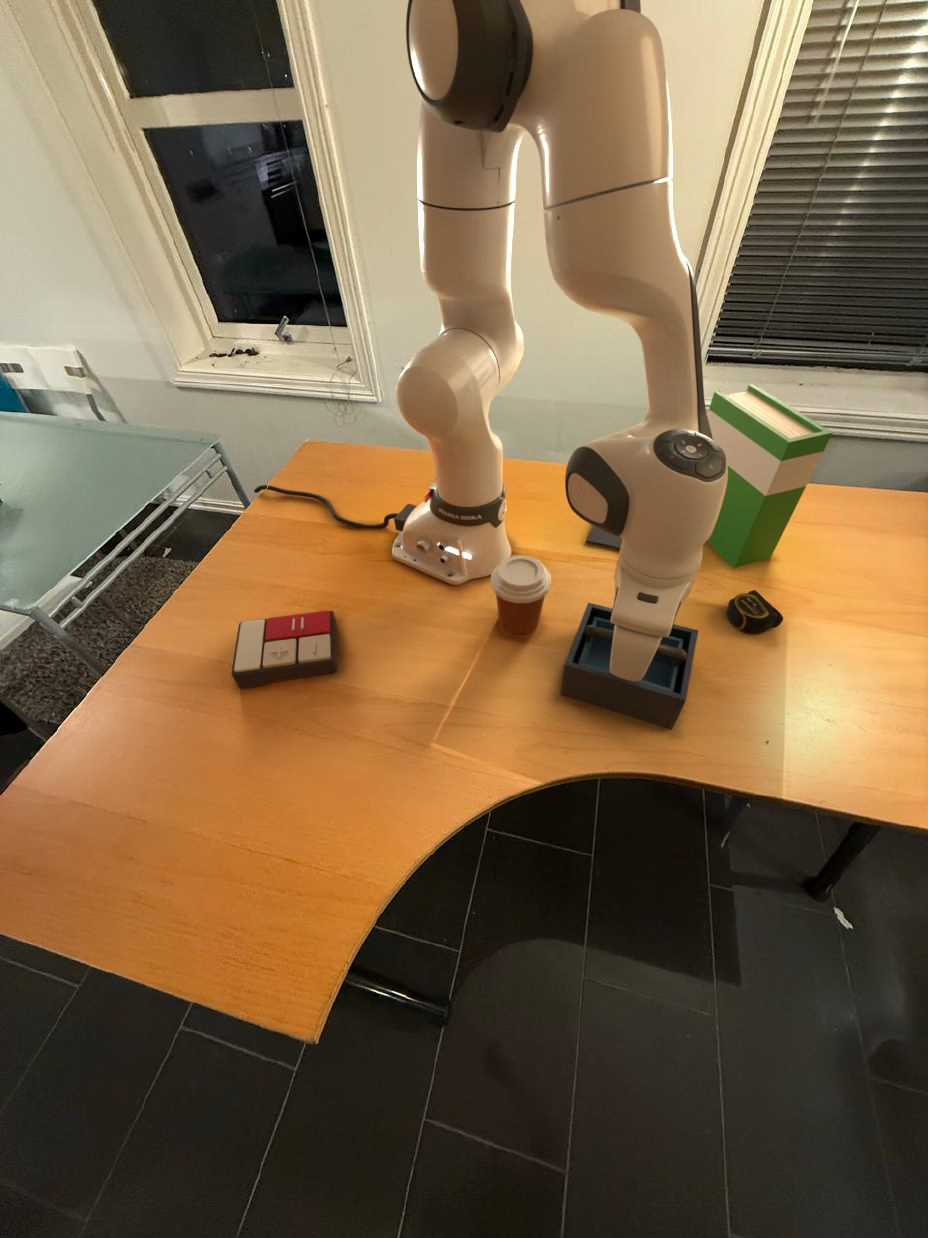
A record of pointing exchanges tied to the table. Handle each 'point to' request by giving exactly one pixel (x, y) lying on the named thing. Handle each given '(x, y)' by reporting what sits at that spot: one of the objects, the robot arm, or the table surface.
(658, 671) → the inner bin
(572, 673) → the bin
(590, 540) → the mat
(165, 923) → the table surface
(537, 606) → the coffee cup
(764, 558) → the hardback book
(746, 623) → the tape measure
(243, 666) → the button control panel
